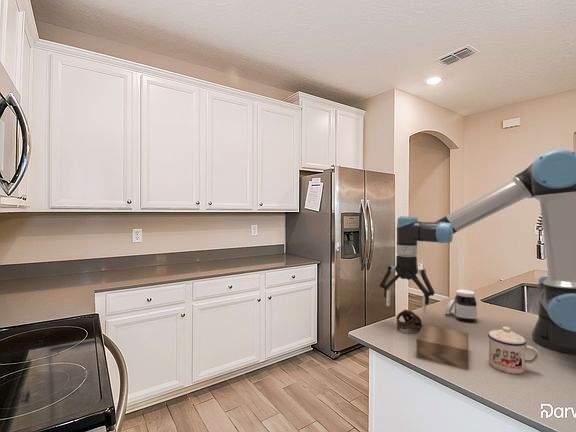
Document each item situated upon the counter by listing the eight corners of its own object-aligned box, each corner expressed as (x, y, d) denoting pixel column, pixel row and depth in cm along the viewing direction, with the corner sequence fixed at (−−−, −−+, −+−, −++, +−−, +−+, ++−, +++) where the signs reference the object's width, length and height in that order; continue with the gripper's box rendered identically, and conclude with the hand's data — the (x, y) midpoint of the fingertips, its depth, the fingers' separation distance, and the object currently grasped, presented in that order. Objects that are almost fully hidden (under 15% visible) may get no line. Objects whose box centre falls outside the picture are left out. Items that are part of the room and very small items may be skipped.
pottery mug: (429, 335, 111) (421, 318, 109) (405, 344, 112) (397, 328, 111) (417, 316, 122) (410, 300, 121) (396, 325, 124) (388, 309, 122)
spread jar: (479, 324, 120) (479, 295, 120) (448, 321, 124) (448, 293, 124) (470, 314, 132) (471, 288, 132) (442, 311, 135) (442, 286, 135)
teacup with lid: (488, 369, 86) (489, 329, 86) (486, 356, 94) (487, 319, 94) (542, 381, 80) (542, 338, 80) (535, 366, 88) (535, 327, 87)
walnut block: (468, 351, 98) (468, 333, 98) (468, 370, 86) (468, 350, 86) (422, 341, 105) (422, 324, 105) (416, 358, 94) (416, 339, 93)
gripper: (372, 253, 120) (371, 305, 121) (440, 260, 106) (438, 318, 107) (378, 251, 127) (377, 300, 127) (443, 257, 112) (442, 312, 113)
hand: (405, 308), depth 117 cm, fingers open, 13 cm apart
